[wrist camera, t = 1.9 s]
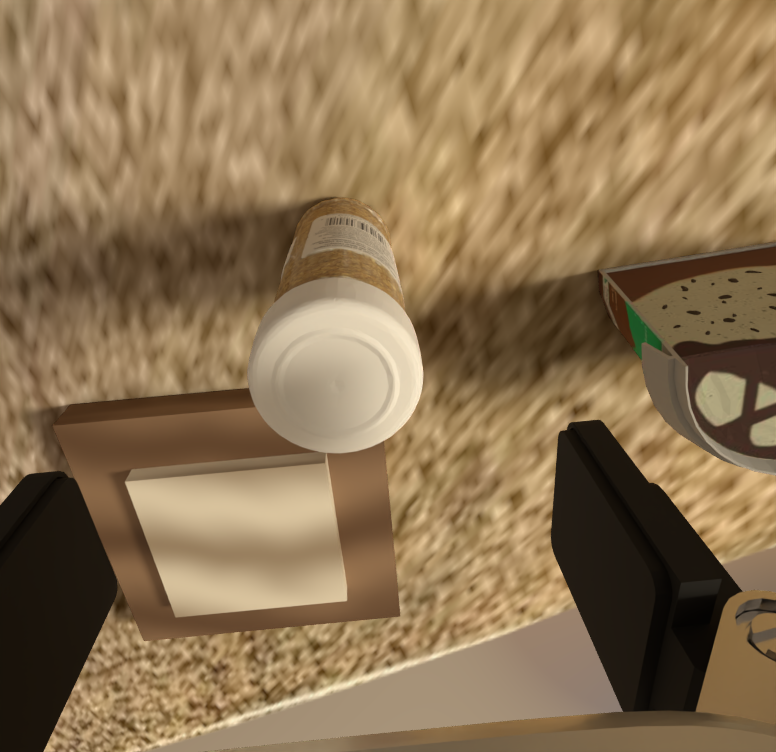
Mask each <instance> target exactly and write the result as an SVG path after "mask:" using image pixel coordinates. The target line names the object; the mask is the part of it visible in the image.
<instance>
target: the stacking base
mask: <svg viewBox="0 0 776 752" xmlns="http://www.w3.org/2000/svg"><path fill="white" fill-rule="evenodd" d="M53 429H54V431H55V434H56V436H57V438H58V441H59V443H60V445H61V448H62V450H63V452H64V455H65V457H66V459H67V462H68V464H69V466H70V469H71V471H72V473H73V476H74V478H75V480H76V481H77V483H78V485H79V488H80V490H81V493H82V495H83V498H84V500H85V502H86V505H87V507H88V510H89V512H90V515H91V517H92V520H93V522H94V525H95V527H96V530H97V532H98V534H99V537H100V539H101V541H102V544H103V546H104V548H105V551H106V553H107V555H108V558H109V560H110V562H111V565H112V567H113V570H114V572H115V574H116V577H117V579H118V581H119V584H120V586H121V588H122V591H123V593H124V595H125V598H126V600H127V602H128V605H129V607H130V609H131V612H132V614H133V616H134V619H135V621H136V623H137V626H138V628H139V631H140V633H141V635H142V638H143V640H144V641H150V640H160V639H171V638H181V637H191V636H202V635H212V634H223V633H233V632H243V631H254V630H264V629H274V628H285V627H295V626H305V625H316V624H326V623H336V622H347V621H357V620H367V619H378V618H388V617H398V616H400V608H399V597H398V586H397V575H396V564H395V554H394V543H393V533H392V522H391V511H390V501H389V490H388V479H387V469H386V458H385V448H384V441H383V442H381V443H379V444H376V445H374V446H372V447H369V448H366V449H363V450H359V451H355V452H348V453H324V452H318V451H314V450H310V449H307V448H303V447H301V446H298V445H296V444H294V443H292V442H290V441H288V440H287V439H285V438H283V437H282V436H280V435H279V434H278V433H277V432H275V431H274V430H273V429H272V428H271V427H270V426H269V425H268V424H267V423H266V422H265V420H264V419H263V418H262V416H261V415H260V413H259V412H258V410H257V408H256V407H255V405H254V402H253V400H252V397H251V393H250V390H249V389H238V390H227V391H216V392H205V393H194V394H183V395H172V396H161V397H150V398H139V399H128V400H117V401H106V402H95V403H84V404H73V405H70V406H69V407H68V408H67V409H66V411H65V412H64V413H63V414H62V415H61V416H60V417H59V419H58V420H57V421H56V422H55V423H54V424H53Z"/></svg>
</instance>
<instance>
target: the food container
mask: <svg viewBox="0 0 776 752" xmlns="http://www.w3.org/2000/svg"><path fill="white" fill-rule="evenodd" d="M598 278H599V292H600V295H601V298H602V300H603V303H604V305H605V308H606V310H607V313H608V315H609V317H610V319H611V320H612V321H613V323H614V324H615V325H616V327H617V328H618V329H619V331H620V332H621V333H622V335H623V336H624V337H625V339H626V340H627V341H628V343H629V344H630V345H631V347H632V348H633V349H634V351H635V352H636V353H637V355H638V356H639V357H640V359H641V360H642V368H643V373H644V378H645V383H646V387H647V389H648V392H649V394H650V396H651V399H652V401H653V403H654V406H655V407H656V408H657V410H658V411H659V413H660V414H661V416H662V417H663V418H664V420H665V421H666V422H667V423H668V424H669V425H670V426H671V427H672V428H673V429H674V430H676V431H677V432H678V433H679V434H680V435H682V436H683V437H685V438H686V439H688V440H690V441H691V442H693V443H694V444H696V445H698V446H699V447H701V448H702V449H704V450H706V451H707V452H709V453H711V454H712V455H714V456H716V457H717V458H719V459H720V460H723V461H726V462H728V463H731V464H734V465H736V466H739V467H744V468H747V469H750V470H752V471H755V472H760V473H766V474H771V475H776V242H772V243H766V244H759V245H753V246H747V247H740V248H734V249H728V250H721V251H715V252H709V253H702V254H696V255H690V256H683V257H677V258H671V259H664V260H658V261H652V262H645V263H639V264H633V265H626V266H620V267H614V268H607V269H601V270H598Z"/></svg>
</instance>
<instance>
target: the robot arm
mask: <svg viewBox="0 0 776 752" xmlns="http://www.w3.org/2000/svg"><path fill="white" fill-rule="evenodd" d="M551 543H552V548H553V552H554V555H555V557H556V560H557V562H558V564H559V566H560V569H561V571H562V573H563V576H564V578H565V580H566V582H567V585H568V587H569V589H570V592H571V594H572V596H573V598H574V601H575V603H576V605H577V608H578V610H579V612H580V615H581V617H582V619H583V621H584V624H585V626H586V628H587V630H588V633H589V635H590V637H591V640H592V642H593V644H594V646H595V649H596V651H597V653H598V656H599V658H600V660H601V663H602V664H603V667H604V669H605V672H606V674H607V676H608V679H609V681H610V683H611V685H612V687H613V690H614V692H615V695H616V697H617V699H618V701H619V704H620V706H621V708H622V710H623V712H612V713H601V714H587V715H575V716H562V717H550V718H538V719H525V720H513V721H503V722H492V723H482V724H472V725H462V726H452V727H441V728H431V729H421V730H411V731H401V732H391V733H380V734H370V735H360V736H350V737H340V738H331V739H321V740H311V741H302V742H292V743H282V744H272V745H263V746H253V747H244V748H234V749H224V750H215V751H205V752H776V593H775V592H771V591H760V590H751V591H745V592H742V590H741V589H740V588H739V587H738V585H737V584H736V583H735V581H734V580H733V579H732V578H731V576H730V575H729V574H728V572H727V571H726V570H725V569H724V567H723V566H722V565H721V563H720V562H719V561H718V560H717V558H716V557H715V556H714V555H713V553H712V552H711V551H710V549H709V548H708V547H707V546H706V544H705V543H704V542H703V540H702V539H701V538H700V537H699V535H698V534H697V533H696V532H695V530H694V529H693V528H692V526H691V525H690V524H689V523H688V521H687V520H686V519H685V517H684V516H683V515H682V514H681V512H680V511H679V510H678V508H677V507H676V506H675V505H674V503H673V502H672V501H671V500H670V498H669V497H668V496H667V494H666V493H665V492H664V491H663V490H662V489H661V488H660V487H659V486H658V485H657V484H654V483H649V482H648V481H647V480H646V478H645V477H644V476H643V474H642V473H641V472H640V470H639V469H638V468H637V466H636V465H635V464H634V463H633V461H632V460H631V459H630V457H629V456H628V455H627V453H626V452H625V451H624V449H623V448H622V447H621V445H620V444H619V443H618V441H617V440H616V439H615V437H614V436H613V435H612V434H611V432H610V431H609V430H608V428H607V427H606V426H605V424H604V423H603V422H602V421H601V420H591V421H581V422H571V423H570V424H569V425H568V427H567V430H565V431H560V433H559V436H558V447H557V461H556V474H555V488H554V501H553V515H552V528H551ZM116 594H117V579H116V576H115V574H114V571H113V569H112V566H111V564H110V561H109V559H108V557H107V554H106V552H105V549H104V547H103V544H102V542H101V539H100V537H99V534H98V532H97V530H96V527H95V525H94V522H93V520H92V517H91V515H90V512H89V510H88V507H87V505H86V502H85V500H84V498H83V495H82V493H81V490H80V488H79V485H78V483H77V481H76V480H75V479H74V478H68V476H67V475H66V474H65V473H64V472H61V471H55V472H45V473H34V474H29V475H27V476H25V477H24V478H23V479H22V480H21V482H20V483H19V484H18V485H17V486H16V487H15V489H14V490H13V491H12V492H11V493H10V494H9V496H8V497H7V498H6V499H5V500H4V502H3V503H2V504H1V505H0V752H43V751H44V749H45V747H46V745H47V743H48V741H49V739H50V736H51V734H52V732H53V730H54V728H55V726H56V724H57V722H58V719H59V717H60V715H61V713H62V711H63V709H64V707H65V704H66V702H67V700H68V698H69V696H70V694H71V692H72V690H73V687H74V685H75V683H76V681H77V679H78V677H79V675H80V672H81V670H82V668H83V666H84V664H85V662H86V660H87V657H88V655H89V653H90V651H91V649H92V647H93V645H94V643H95V640H96V638H97V636H98V634H99V632H100V630H101V628H102V625H103V623H104V621H105V619H106V617H107V615H108V613H109V611H110V608H111V606H112V604H113V602H114V600H115V597H116Z"/></svg>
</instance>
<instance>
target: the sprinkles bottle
mask: <svg viewBox="0 0 776 752" xmlns="http://www.w3.org/2000/svg"><path fill="white" fill-rule="evenodd" d="M248 384H249V390H250V393H251V397H252V400H253V402H254V405H255V407H256V408H257V410H258V412H259V413H260V415H261V416H262V418H263V419H264V420H265V422H266V423H267V424H268V425H269V426H270V427H271V428H272V429H273V430H274V431H275V432H277V433H278V434H279V435H280V436H282V437H283V438H285V439H287V440H288V441H290V442H292V443H294V444H296V445H298V446H301V447H303V448H307V449H310V450H314V451H318V452H324V453H348V452H355V451H359V450H363V449H366V448H369V447H372V446H374V445H376V444H379V443H381V442H383V441H384V440H386V439H388V438H389V437H391V436H392V435H393V434H394V433H396V432H397V431H398V430H399V429H400V428H401V427H402V426H403V425H404V424H405V423H406V422H407V420H408V419H409V418H410V416H411V415H412V413H413V412H414V410H415V408H416V406H417V403H418V401H419V398H420V395H421V391H422V385H423V366H422V359H421V353H420V348H419V344H418V340H417V336H416V333H415V330H414V327H413V325H412V323H411V321H410V319H409V317H408V316H407V314H406V313H405V304H404V297H403V293H402V289H401V285H400V281H399V276H398V271H397V267H396V263H395V259H394V255H393V252H392V249H391V242H390V234H389V231H388V229H387V226H386V224H385V223H384V221H383V219H382V218H381V217H380V216H379V214H378V213H377V212H376V211H374V210H373V209H371V208H370V207H369V206H368V205H366V204H363V203H362V202H360V201H358V200H355V199H348V198H334V199H329V200H325V201H321V202H320V203H318V204H317V205H315V206H313V207H312V208H310V209H309V210H308V211H307V212H306V213H305V214H304V215H303V217H302V218H301V220H300V221H299V223H298V225H297V227H296V231H295V235H294V238H293V243H292V245H291V247H290V250H289V253H288V255H287V258H286V261H285V264H284V267H283V271H282V275H281V282H280V285H279V289H278V291H277V294H276V297H275V301H274V304H273V305H272V306H271V307H270V308H269V309H268V311H267V312H266V314H265V315H264V317H263V319H262V321H261V323H260V325H259V327H258V330H257V333H256V336H255V339H254V342H253V346H252V350H251V354H250V358H249V364H248Z"/></svg>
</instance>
